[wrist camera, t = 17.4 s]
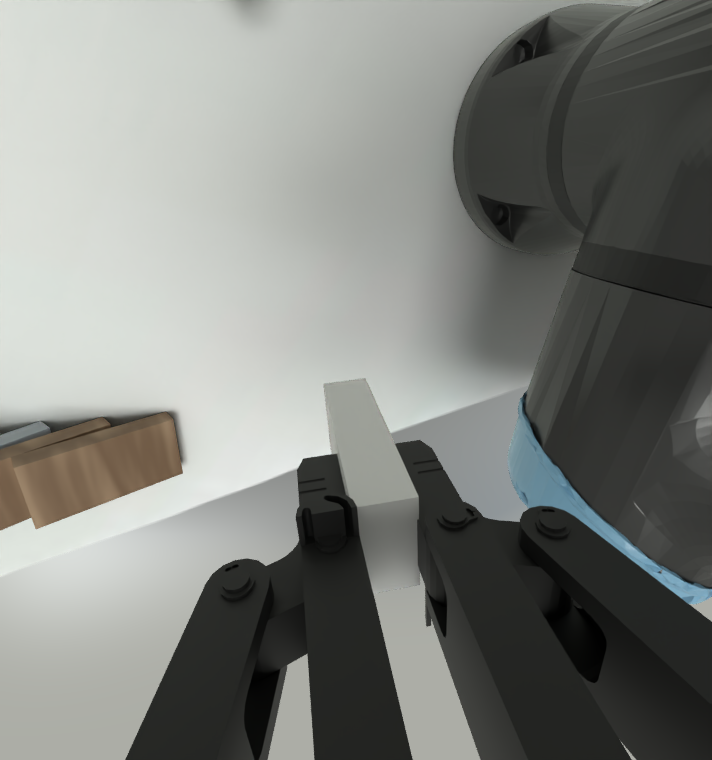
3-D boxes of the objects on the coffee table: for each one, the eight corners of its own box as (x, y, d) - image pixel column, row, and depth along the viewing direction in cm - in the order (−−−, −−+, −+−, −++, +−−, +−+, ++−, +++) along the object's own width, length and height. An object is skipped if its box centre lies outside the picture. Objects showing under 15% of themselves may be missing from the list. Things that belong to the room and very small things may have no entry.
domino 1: (110, 424, 33) (-67, 483, 26) (123, 478, 35) (-38, 546, 28) (102, 416, 34) (-70, 471, 27) (116, 470, 36) (-42, 533, 29)
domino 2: (173, 419, 34) (13, 468, 28) (182, 473, 36) (35, 529, 30) (166, 411, 35) (10, 456, 29) (175, 464, 37) (32, 516, 31)
